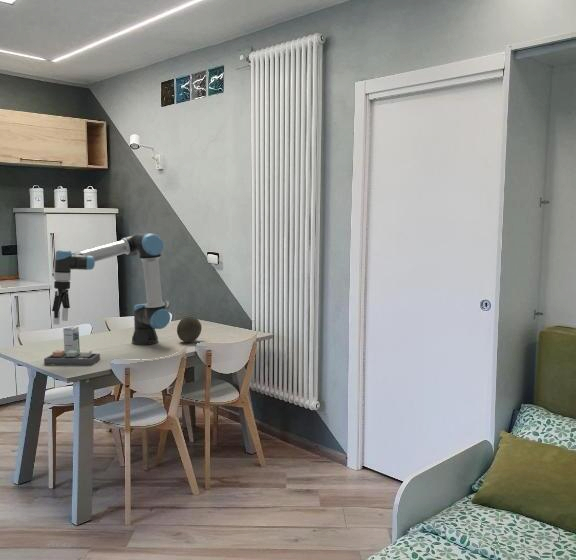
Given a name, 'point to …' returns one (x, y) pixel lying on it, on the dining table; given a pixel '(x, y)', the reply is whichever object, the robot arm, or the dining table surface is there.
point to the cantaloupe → (189, 329)
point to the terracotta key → (58, 353)
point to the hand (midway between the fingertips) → (60, 322)
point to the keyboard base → (72, 360)
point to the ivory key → (85, 353)
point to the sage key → (72, 353)
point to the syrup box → (71, 339)
